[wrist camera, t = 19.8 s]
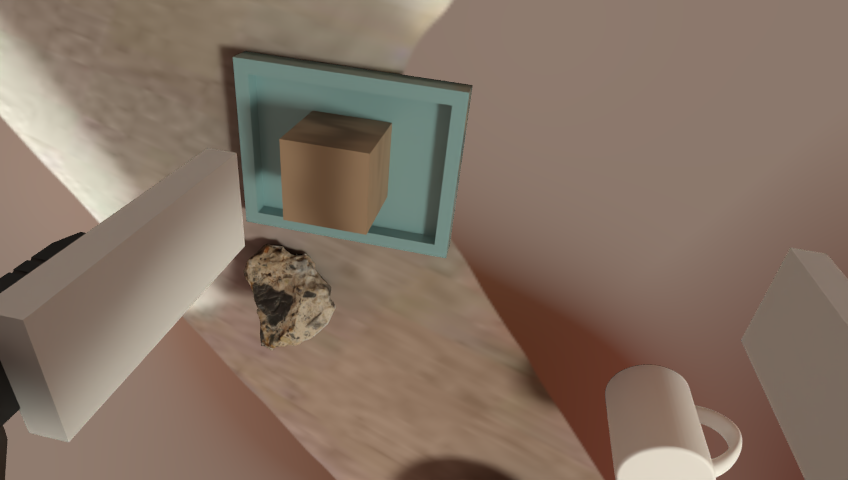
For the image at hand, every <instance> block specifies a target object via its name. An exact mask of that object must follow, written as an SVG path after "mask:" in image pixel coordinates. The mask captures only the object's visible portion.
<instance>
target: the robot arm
mask: <svg viewBox="0 0 848 480" xmlns="http://www.w3.org/2000/svg"><path fill="white" fill-rule="evenodd" d="M244 246H245V241H244V229H243V218H242V207H241V196H240V185H239V174H238V163H237V153H235V152H229V151H223V150H217V149H211V148H207V149H206V150H204V151H203V152H201V153H200V154H198V155H197V156H196V157H194V158H193V159H191V160H190V161H188V162H187V163H186V164H184V165H183V166H181V167H180V168H178V169H177V170H176V171H174V172H173V173H171V174H170V175H168V176H167V177H166V178H164V179H163V180H161V181H160V182H159V183H157V184H156V185H154V186H153V187H151V188H150V189H149V190H147V191H146V192H144V193H143V194H141V195H140V196H139V197H137V198H136V199H134V200H133V201H131V202H130V203H129V204H127V205H126V206H124V207H123V208H121V209H120V210H119V211H117V212H116V213H114V214H113V215H111V216H110V217H109V218H107V219H106V220H104V221H103V222H101V223H100V224H99V225H97V226H96V227H94V228H93V229H91V230H90V231H89V232H87V233H83V232H80V233H77V234H74V235H72V236H69V237H66V238H64V239H61V240H59V241H57V242H54V243H52V244H50V245H49V246H47V247H46V248H44V249H43V250H42V251H40V252H38V253H37V254H36V255H34V256H33V257H32V258H31V260H30V261H28V260H27V261H25V262H24V263H22V264H21V265H19V266H18V267H16V268H15V269H14V271H13V273H7V274H6V275H4V276H3V277H1V278H0V480H5V469H6V454H7V436H6V433H5V430H4V427H3V424H4V423H5V422H6V421H7V420H9V419H10V417H12V416H13V415H14V414H15V413H16V412H17V411H18V410H19V411H20V413H21V415H22V418H23V419H24V422H25V425H26V427H27V429H28V432H29V433H32V434H36V435H41V436H45V437H49V438H53V439H57V440H61V441H66V442H70V440H71V439H72V438H73V437H74V436H75V435H76V434H77V433H78V432H79V430H80V429H81V428H82V427H83V426H84V425H85V424H86V423H87V421H88V420H89V419H90V418H91V417H92V416H93V415H94V414H95V412H96V411H97V410H98V409H99V408H100V407H101V406H102V405H103V403H104V402H105V401H106V400H107V399H108V398H109V397H110V396H111V395H112V394H113V392H114V391H115V390H116V389H117V388H118V387H119V386H120V385H121V383H122V382H123V381H124V380H125V379H126V378H127V377H128V376H129V375H130V374H131V372H132V371H133V370H134V369H135V368H136V367H137V366H138V364H139V363H140V362H141V361H142V360H143V359H144V358H145V357H146V356H147V355H148V353H149V352H150V351H151V350H152V349H153V348H154V347H155V346H156V345H157V343H158V342H159V341H160V340H161V339H162V338H163V337H164V336H165V334H166V333H167V332H168V331H169V330H170V329H171V328H172V327H173V326H174V324H175V323H176V322H177V321H178V320H179V319H180V318H181V317H182V316H183V314H184V313H185V312H186V311H187V310H188V309H189V308H190V307H191V305H192V304H193V303H194V302H195V301H196V300H197V299H198V298H199V297H200V295H201V294H202V293H203V292H204V291H205V290H206V289H207V288H208V287H209V285H210V284H211V283H212V282H213V281H214V280H215V279H216V278H217V276H218V275H219V274H220V273H221V272H222V271H223V270H224V269H225V268H226V266H227V265H228V264H229V263H230V262H231V261H232V260H233V259H234V258H235V256H236V255H237V254H238V253H239V252H240V251H241V250H242V249H243V247H244ZM741 341H742V344H743V346H744V348H745V350H746V352H747V355H748V357H749V359H750V361H751V363H752V365H753V368H754V370H755V372H756V374H757V376H758V378H759V381H760V383H761V385H762V387H763V389H764V391H765V394H766V396H767V398H768V400H769V402H770V404H771V407H772V409H773V411H774V413H775V415H776V418H777V420H778V422H779V424H780V426H781V429H782V431H783V433H784V435H785V437H786V439H787V442H788V444H789V446H790V448H791V450H792V452H793V455H794V457H795V459H796V461H797V463H798V465H799V468H800V469H801V472H802V474H803V476H804V479H805V480H848V279H847V278H846V277H845V276H844V274H843V273H842V272H841V271H840V269H839V268H838V267H837V266H836V265H835V263H834V262H833V261H832V260H831V259H830V257H829V256H828V255H827V254H824V253H819V252H813V251H807V250H801V249H795V248H790V249H789V251H788V253H787V255H786V257H785V259H784V261H783V262H782V264H781V266H780V268H779V270H778V272H777V274H776V275H775V277H774V279H773V281H772V283H771V285H770V287H769V289H768V291H767V292H766V294H765V296H764V298H763V300H762V302H761V304H760V305H759V307H758V309H757V311H756V313H755V315H754V317H753V319H752V320H751V323H750V324H749V326H748V328H747V330H746V332H745V334H744V335H743V337H742V339H741Z"/></svg>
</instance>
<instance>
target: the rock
mask: <svg viewBox="0 0 848 480" xmlns="http://www.w3.org/2000/svg"><path fill="white" fill-rule="evenodd" d="M296 255H297V254H296ZM296 255H292V254H290V253H289V252H288V251H286V250H285V249H284V247H283V246H273V245H269V244H266V245H265V246H263V247H262V248H261V249H260V250H259V252H258V253H257V254H255V255H254V256H252V257H251V258H250V259H249V260H248V261H247V265H246V269H245V270H244V275H245V278H246V280H247V281H248V283H249V284H250V286H251V289H252V292H253V294H254V300H255V302H256V305H257V308H258V309H257V314H258V316H259V319H260V325H261V329H260V338H261V346H265V347H267V348H269V347H270V348H269V349H270V350H274V349H271V348H275V347H279V346H283V347H285V346H287V345H293V346H295V345H299V344H300V343H302V342H303V341H304V340H309V339H311V338H312V337H314V336H315V335H316V334H317V333H318V332H320V331H321V330H322V329H323V328H324V327H325V326H326V325H327V324H328V323H329V321H330V319H331V316H332V314H333V312H334V310H335V308H336V306H335V304H334V303H333V301H332V300H331V299H330V293H331V286H330V285H328V284H327V283H326V281H324V280H323V279H322V278H321V277H320V274H319V273H317V271H316V269H315V263H314V262H313V261H312V260H311V258H310V257H309V256H307V254H304V255H300V256H298V255H297V256H296Z"/></svg>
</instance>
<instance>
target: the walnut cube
mask: <svg viewBox="0 0 848 480" xmlns="http://www.w3.org/2000/svg"><path fill="white" fill-rule="evenodd" d="M391 133H392V123H390V122H383V121H377V120H371V119H364V118H358V117H351V116H345V115H338V114H332V113H326V112H319V111H311V112H310V113H309V114H308V115H307V116H306V117H304V118H303V119H302V120H301V121H300V122H299V123H297V124H296V125H295V126H294V127H293V128H292V129H290V130H289V131H288V132H287V133H286V134H285V135H283V136H282V137H281V138H280V139H279V142H280V162H281V183H282V203H283V220H287V221H292V222H298V223H303V224H309V225H314V226H320V227H325V228H331V229H337V230H342V231H348V232H353V233H359V234H364V235H367V233H368V231H369V229H370V227H371V225H372V224H373V222H374V220H375V218H376V216H377V215H378V213H379V211H380V209H381V207H382V206H383V204H384V202H385V200H386V198H387V195H388V180H389V164H390V149H391Z"/></svg>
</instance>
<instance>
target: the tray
mask: <svg viewBox="0 0 848 480" xmlns="http://www.w3.org/2000/svg"><path fill="white" fill-rule="evenodd" d="M233 67H234V78H235V90H236V102H237V114H238V125H239V137H240V149H241V160H242V172H243V184H244V196H245V207H246V219H247V221H248V222H253V223H259V224H264V225H269V226H275V227H280V228H286V229H291V230H296V231H302V232H307V233H313V234H318V235H323V236H329V237H334V238H340V239H345V240H350V241H356V242H361V243H367V244H372V245H377V246H383V247H388V248H394V249H399V250H404V251H410V252H415V253H421V254H426V255H431V256H437V257H442V258H446V256H447V253H448V249H449V246H450V239H451V232H452V224H453V217H454V211H455V204H456V197H457V190H458V183H459V176H460V169H461V162H462V155H463V148H464V141H465V134H466V126H467V120H468V113H469V106H470V99H471V92H472V85H468V84H461V83H454V82H447V81H441V80H434V79H427V78H421V77H414V76H407V75H401V74H394V73H387V72H381V71H374V70H367V69H361V68H354V67H347V66H341V65H334V64H327V63H321V62H314V61H307V60H301V59H294V58H287V57H281V56H274V55H267V54H261V53H254V52H247V51H245V52H242V53H240V54H238V55H236V56H234V57H233ZM311 111H319V112H326V113H332V114H338V115H345V116H351V117H358V118H364V119H371V120H377V121H383V122H390V123H392V133H391V149H390V164H389V180H388V195H387V198H386V200H385V202H384V204H383V206H382V207H381V209H380V211H379V213H378V215H377V216H376V218H375V220H374V222H373V224H372V225H371V227H370V229H369V231H368V233H367V235H364V234H359V233H353V232H348V231H342V230H337V229H331V228H325V227H320V226H314V225H309V224H303V223H298V222H292V221H287V220H283V203H282V183H281V162H280V142H279V139H280V138H281V137H282V136H283V135H285V134H286V133H287V132H288V131H289V130H290V129H292V128H293V127H294V126H295V125H296V124H297V123H299V122H300V121H301V120H302V119H303V118H304V117H306V116H307V115H308V114H309V113H310V112H311Z"/></svg>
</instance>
